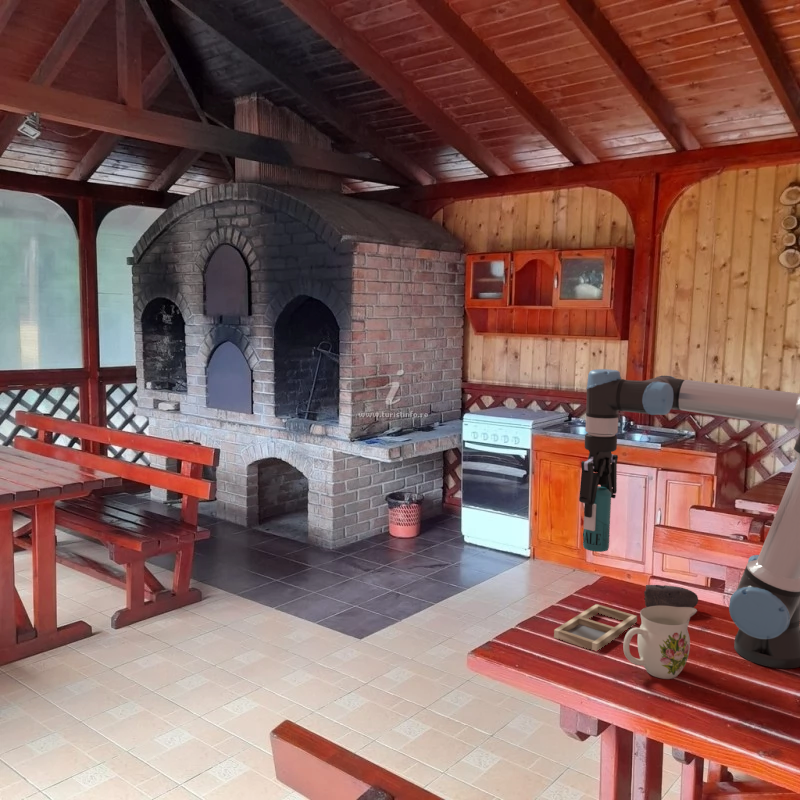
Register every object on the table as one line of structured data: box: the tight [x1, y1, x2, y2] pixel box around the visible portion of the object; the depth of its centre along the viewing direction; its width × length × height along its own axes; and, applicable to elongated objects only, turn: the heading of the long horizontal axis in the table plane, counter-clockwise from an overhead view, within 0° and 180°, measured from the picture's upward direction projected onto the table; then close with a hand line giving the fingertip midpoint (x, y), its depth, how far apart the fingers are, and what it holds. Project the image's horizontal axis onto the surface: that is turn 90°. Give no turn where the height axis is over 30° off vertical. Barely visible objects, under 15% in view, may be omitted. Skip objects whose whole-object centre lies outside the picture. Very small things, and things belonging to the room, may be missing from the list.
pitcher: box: [622, 606, 698, 680], centre depth 166 cm, size 11×18×14 cm, turn 106°
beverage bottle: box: [582, 474, 612, 553], centre depth 183 cm, size 6×7×20 cm
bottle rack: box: [553, 603, 638, 651], centre depth 188 cm, size 22×11×2 cm, turn 138°
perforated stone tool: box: [643, 584, 699, 608], centre depth 200 cm, size 15×5×7 cm, turn 89°
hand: (596, 526), depth 183 cm, fingers closed on beverage bottle, 6 cm apart
